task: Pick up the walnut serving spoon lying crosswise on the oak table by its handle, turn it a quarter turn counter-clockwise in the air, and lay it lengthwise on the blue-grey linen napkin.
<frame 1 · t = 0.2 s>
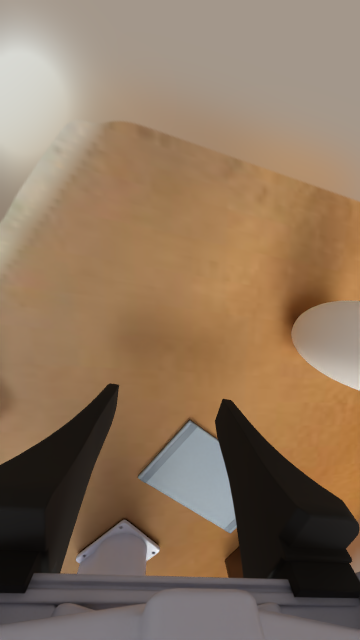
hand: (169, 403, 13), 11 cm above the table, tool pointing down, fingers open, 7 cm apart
spoon: (280, 513, 29), on the table
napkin: (211, 479, 27), on the table
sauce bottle: (302, 327, 24), on the table
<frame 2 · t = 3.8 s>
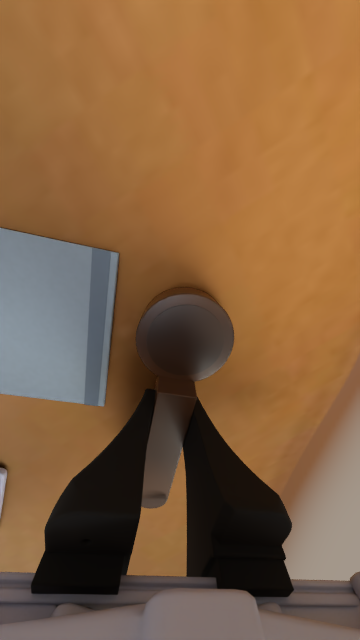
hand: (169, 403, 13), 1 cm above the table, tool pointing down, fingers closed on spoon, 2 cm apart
spoon: (183, 329, 12), on the table, touching gripper
when the fingers open (2 cm above the table, at t = 9.3 s): spoon stays where it is, resting on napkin.
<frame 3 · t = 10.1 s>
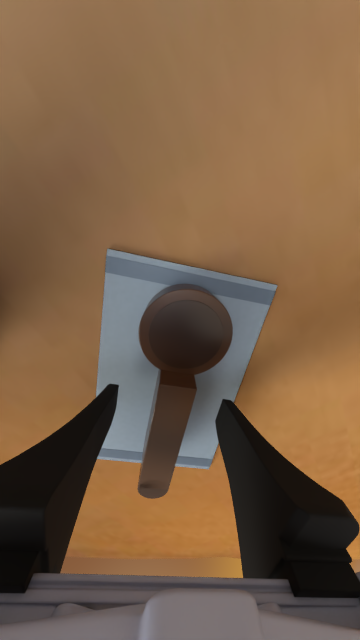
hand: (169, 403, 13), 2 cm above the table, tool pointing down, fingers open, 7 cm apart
spoon: (183, 324, 13), resting on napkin
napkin: (170, 382, 15), on the table
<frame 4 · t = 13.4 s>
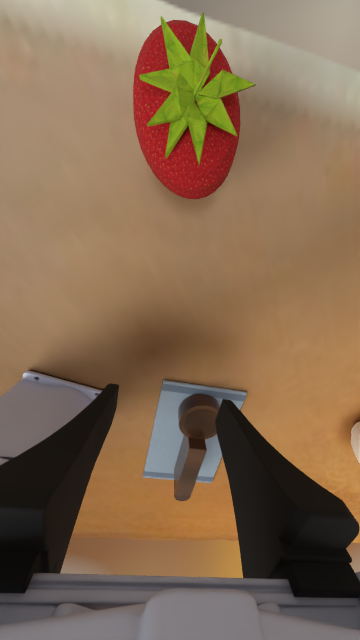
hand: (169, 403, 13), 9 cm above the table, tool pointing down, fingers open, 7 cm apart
spoon: (199, 410, 25), resting on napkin
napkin: (190, 436, 27), on the table
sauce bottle: (358, 424, 28), on the table
strawberry: (181, 168, 16), on the table
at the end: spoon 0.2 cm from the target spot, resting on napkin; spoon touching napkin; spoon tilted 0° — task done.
